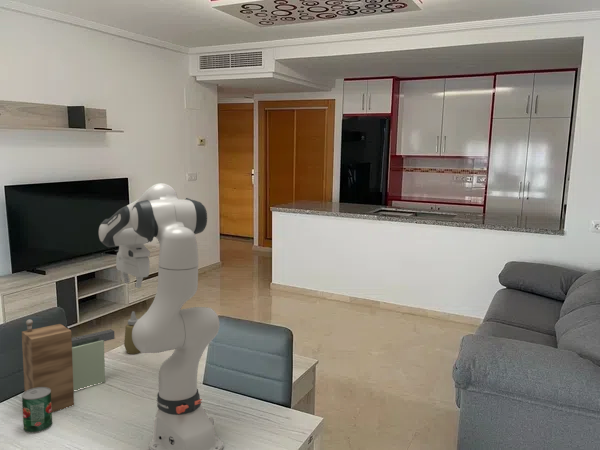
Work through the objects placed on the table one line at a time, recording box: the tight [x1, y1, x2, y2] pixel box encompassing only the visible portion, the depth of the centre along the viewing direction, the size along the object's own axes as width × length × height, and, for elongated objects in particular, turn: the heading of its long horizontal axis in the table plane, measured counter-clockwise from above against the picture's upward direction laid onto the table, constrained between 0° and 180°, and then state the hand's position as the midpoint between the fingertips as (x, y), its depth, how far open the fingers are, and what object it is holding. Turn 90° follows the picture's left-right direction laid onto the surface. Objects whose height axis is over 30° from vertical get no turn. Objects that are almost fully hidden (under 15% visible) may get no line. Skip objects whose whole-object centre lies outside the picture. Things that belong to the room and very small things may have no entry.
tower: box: [21, 319, 75, 413], centre depth 160 cm, size 10×12×30 cm
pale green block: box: [72, 340, 106, 391], centre depth 176 cm, size 8×15×16 cm, turn 136°
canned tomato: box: [21, 387, 53, 434], centre depth 148 cm, size 8×8×11 cm
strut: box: [72, 328, 115, 347], centre depth 177 cm, size 3×20×3 cm, turn 135°
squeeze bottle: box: [123, 310, 141, 355], centre depth 209 cm, size 8×8×18 cm
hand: (132, 285), depth 185 cm, fingers open, 8 cm apart
